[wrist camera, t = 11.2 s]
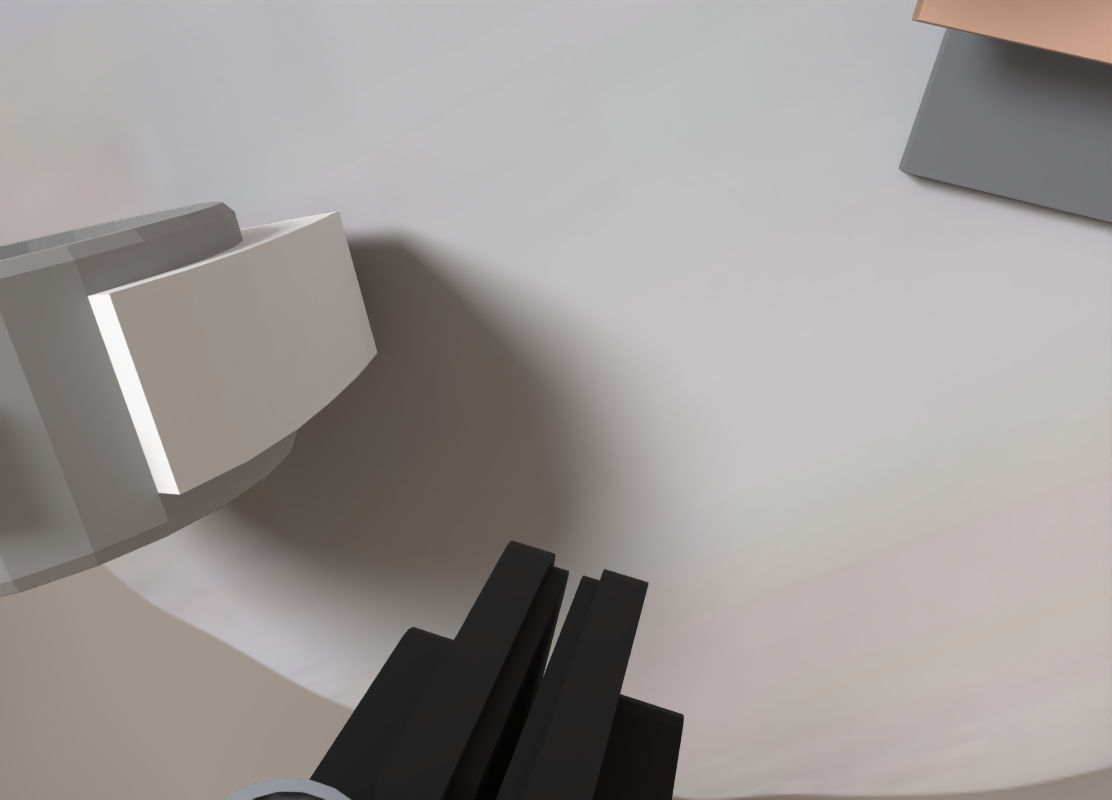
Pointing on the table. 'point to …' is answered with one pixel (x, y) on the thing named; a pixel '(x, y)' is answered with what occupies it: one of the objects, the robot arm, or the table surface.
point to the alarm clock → (160, 374)
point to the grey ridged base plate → (1017, 124)
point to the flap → (1030, 23)
